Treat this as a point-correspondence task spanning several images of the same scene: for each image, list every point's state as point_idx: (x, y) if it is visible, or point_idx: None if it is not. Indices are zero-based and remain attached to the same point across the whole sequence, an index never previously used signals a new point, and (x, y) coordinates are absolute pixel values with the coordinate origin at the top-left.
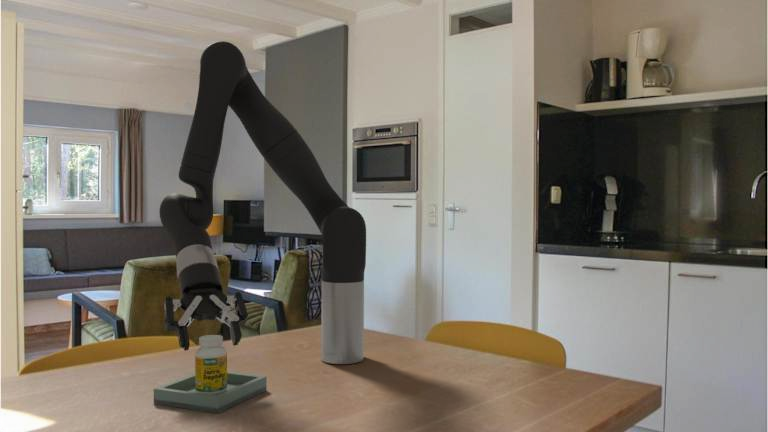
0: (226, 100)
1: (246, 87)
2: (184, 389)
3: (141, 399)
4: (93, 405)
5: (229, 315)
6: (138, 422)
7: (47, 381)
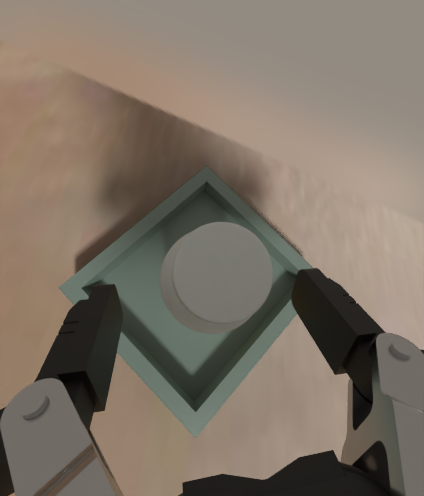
0: None
1: None
2: (255, 329)
3: None
4: (406, 314)
5: (70, 436)
6: (322, 192)
7: None
